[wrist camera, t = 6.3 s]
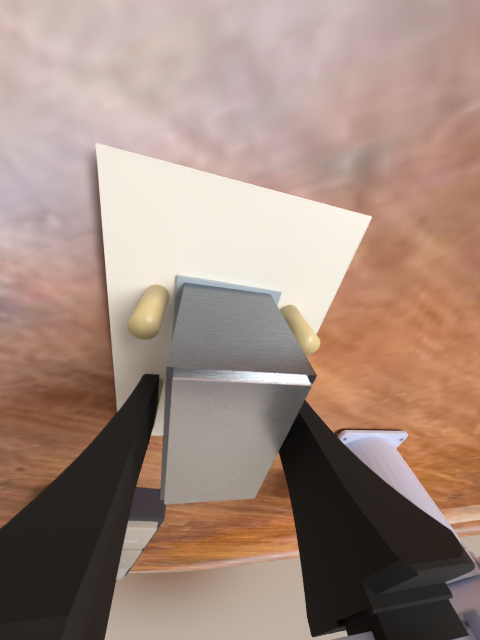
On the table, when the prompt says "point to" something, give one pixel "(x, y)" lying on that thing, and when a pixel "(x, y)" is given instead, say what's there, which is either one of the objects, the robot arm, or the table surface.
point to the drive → (228, 394)
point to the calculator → (141, 526)
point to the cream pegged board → (208, 255)
